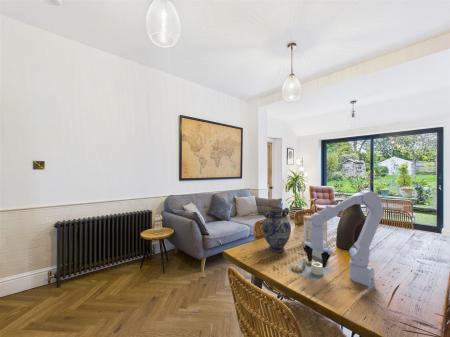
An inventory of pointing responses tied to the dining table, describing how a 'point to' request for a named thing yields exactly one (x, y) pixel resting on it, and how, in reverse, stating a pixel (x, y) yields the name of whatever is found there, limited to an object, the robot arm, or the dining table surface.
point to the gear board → (308, 269)
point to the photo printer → (317, 252)
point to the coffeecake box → (308, 229)
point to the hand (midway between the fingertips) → (316, 263)
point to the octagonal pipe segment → (316, 268)
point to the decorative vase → (276, 228)
